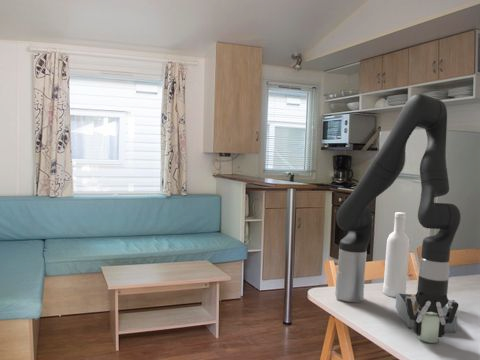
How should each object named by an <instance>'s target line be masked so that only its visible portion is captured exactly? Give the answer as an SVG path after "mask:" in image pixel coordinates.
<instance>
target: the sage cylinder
mask: <svg viewBox="0 0 480 360" xmlns="http://www.w3.org/2000/svg"><path fill="white" fill-rule="evenodd" d="M439 324H440V317H439V316H438V315H437V314H436V313H434V312H426V313H425V315H424V316H423V318H422V320H421V334H420V336H419V335H417V336H418V339H419V340H421V341H422V342H425V343H429V344H430V343H431V344H436V343H438V342H439V337H438V334H439Z"/></svg>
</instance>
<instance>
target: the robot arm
mask: <svg viewBox="0 0 480 360" xmlns="http://www.w3.org/2000/svg"><path fill="white" fill-rule="evenodd" d="M447 127H448V110H447V106H446V104H445V102H443V101H442V100H441V99H438V98H435V97H431V96H428V95H425V94H422V93H416V94H414V95H412V96H411V97H409V98H408V99H407V100H406V102H405V104H404V105H403V107H402V109H401V111H400V113H399V115H398V117H397V118H396V120H395V122H394V124H393V126H392V128H391V130H390V132H389V134H388V135H387V137H386V139H385V141H384V142H383V144H382V145H381V148H380V149H379V150H378V151H377V153H376V155H375V156H374V158H373V159H372V161H371V163H370V164H369V165H368V168H367V169H366V171H365V172H364V174H363V176H362V177H361V178H360V180H359V181H358V183H357V184H356V186H355V188H354V189H353V191H351V193H350V194H349V196H348V197H347V198H346V199H345V200H344V202H343V203H341V205H340V206H339V208H338V210H337V212H336V218H335V219H336V224H337V226H338V228H340V229H341V230H342V231H346V232H347V234H346V235H345V236H344V237H343V238H342V239H340V241H339V247H338V249H339V250H338V263H337V268H336V278H335V292H334V293H335V298H336V300H337V301H342V302H348V303H360V302H363V301H364V295H365V294H364V293H365V280H366V266H367V265H366V264H367V252H368V251H367V250H368V246H369V244H370V241H371V234H372V228H373V213H372V210H371V208H370V207H369V204H370V203H371V202H372V201H373V200H375V199H376V198H378V197H379V196H380V195H382V194H383V193H384V192H386V191H387V190H388V189H389V188H390V187H391V186H392V185H393V184H394V182H395V181H396V180H397V179H398V177H399V176H400V174H401V172H402V171H403V169H404V167H405V162H406V149H407V148H406V147H407V144H408V143H407V142H408V141H409V139H410V136H411V135H412V133H413V132H414V130H415V129H416V128H421V129H423V130H424V131H425V133H426V138H427V144H426V148H425V151H424V153H423V155H422V157H421V161H420V165H419V176H420V185H421V186H420V187H421V193H420V200H419V206H418V211H417V220H418V222H419V224H420V225H421V227H423V228H425V229H432V230H434V229H435V230H436V229H437V230H438V232H437V233H436V234H434V235H431V236H426V237H424V238H423V240H422V245H421V256H420V257H421V258H420V260H419V261H420V262H419V269H418V278H417V279H418V280H417V291H416V293H415V294H416V295H415V296H412V297H409V296H405V302H406V308H407V314H408V316H409V318H410V319H411V320H414V329H413V331H414V333H415V334H416V336H418V335H419V336H420V334H421V320H422V318H423V316H424V315H425V313H426V312H434V313H436V314H437V315H438V316H439V317H440V324H439V334H438V339H439V338H440V339H441V338H442V337H444V335H445V332H444V328H445V324H447V323H452V322H453V320H454V317H455V314H457V311H458V310H459V309H458V308H459V303H458V302H457V301H456V300H454V299H452V300H451V299H449V298H448V291H449V290H448V288H449V280H450V277H449V275H450V257H451V247H452V244H453V241H454V239H455V236H456V234H457V232H458V229H459V227H460V223H461V216H462V215H461V211H460V208H459V207H458V206H457V205H455V204H454V203H445V202H444V203H443V202H435V198H438V197H443V196H445V195H448V193H449V192H450V182H449V176H448V168H447V157H446V156H447V155H446V152H447V150H446V149H447V133H448V131H447ZM415 301H417V302H418V304H419V306H418V308H417V312H416V314H415V315H414V313H413V307H412V305H414V302H415ZM445 305H447V306H448V307H449V308H448V311H447V314H446V317H444V314H443V311H442V309H443V308H444V307H445Z"/></svg>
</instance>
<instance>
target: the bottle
mask: <svg viewBox="0 0 480 360" xmlns="http://www.w3.org/2000/svg"><path fill="white" fill-rule="evenodd" d="M406 214H407V213H406V212H403V211H402V212H399V211H397V212H395V213H394V225H393V231H392V232H391V233H389V235H388V237H387V239H386V248H385V250H386V251H385V263H384V275H383V277H384V278H383V287H382V293H383V294H384V295H385V296H387V297H390V298H395V299H396V295H397V293H403V294H407V282H408V279H407V278H408V270H409V269H408V267H409V255H410V244H411V243H410V239H409V236H408V235H407V234H406V232H405V228H406V227H405V226H406V218H407V216H406Z"/></svg>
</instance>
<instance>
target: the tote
mask: <svg viewBox="0 0 480 360" xmlns="http://www.w3.org/2000/svg"><path fill="white" fill-rule="evenodd" d="M411 294H412V293H406V294H403V293H397V295H396V298H395V309H396V311H397V312H398V314H399V316H400V318H401V319H402V320H403V322H404V323H405V325H406V327H407V328H408V329H413V330H414V320H411V319H410V318H409V316H408V314H407V308H406V302H405V296H409V297H411ZM448 308H449V307H448V304H446V305H445V307H444V308H443V309H442V311H443V314H444V317H446V314H447V311H448ZM413 313H414V315H415V314H416V312H415V311H413ZM456 314H457V313H456ZM456 314H455V317H454V320H453V322H452V323H447V324H445V328H444V333H445V332H446V333H452V334H453V333H455V334H456V331H457V330H456V329H457V322H458V321H457V319H458V315H456Z"/></svg>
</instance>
